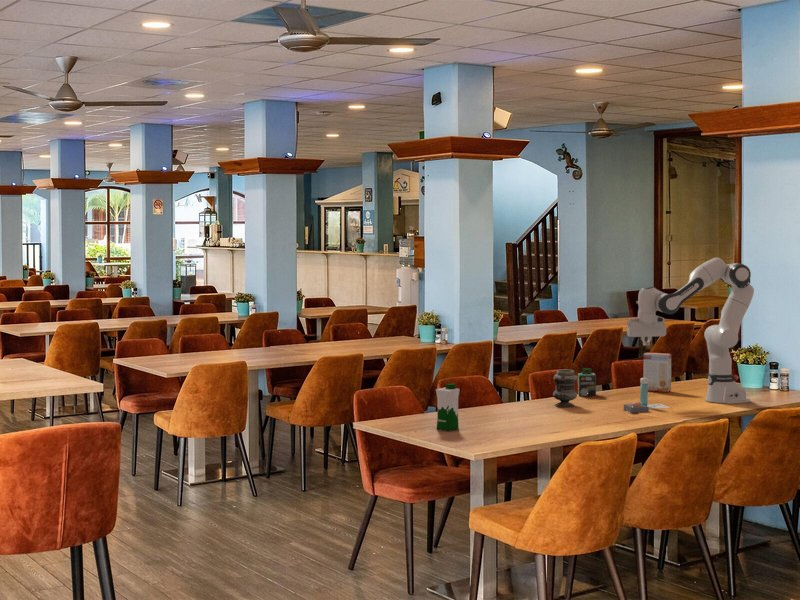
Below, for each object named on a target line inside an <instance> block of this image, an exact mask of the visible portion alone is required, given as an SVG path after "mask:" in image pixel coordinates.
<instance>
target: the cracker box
mask: <svg viewBox="0 0 800 600" xmlns="http://www.w3.org/2000/svg"><path fill="white" fill-rule="evenodd" d="M642 378H648V392H655V391H659V392H658V393H670V392H672V353H664V352H663V353H662V352H661V353H660V352H645V353H643V377H642ZM669 391H670V392H669Z"/></svg>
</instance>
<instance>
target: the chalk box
mask: <svg viewBox="0 0 800 600" xmlns="http://www.w3.org/2000/svg"><path fill="white" fill-rule="evenodd" d="M586 371H587V372H586ZM587 393H588V394H587ZM577 396H578V397H593V396H597V375H596V373H594V372H592V367H590V368H589V367H582V371H581V372H578V373H577Z"/></svg>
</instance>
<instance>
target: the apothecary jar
mask: <svg viewBox="0 0 800 600" xmlns="http://www.w3.org/2000/svg"><path fill="white" fill-rule="evenodd" d="M553 381H554V382H555V390H553V393H552V396H553V397H554V399H555V400H558V401H560V402H557V403H555V404H554V406H555V407H558V408H574V407H575V404H574V403H572V402H570V401H573V400H575V399H576V398H577V397H578V392H577V391H576V390H575V388H576V387H575V386H576V385H575V383H576V382H578V375H576V374H575V370H573V369H564V368H563V369H557V370H556V373H555V374H554V375H553Z"/></svg>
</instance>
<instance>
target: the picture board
mask: <svg viewBox="0 0 800 600" xmlns="http://www.w3.org/2000/svg"><path fill="white" fill-rule="evenodd" d="M647 406H648V407H649V410H651V409H653V410H654V409H672V407H670V406H667V405H665V404H662V403H648V404H647Z"/></svg>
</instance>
